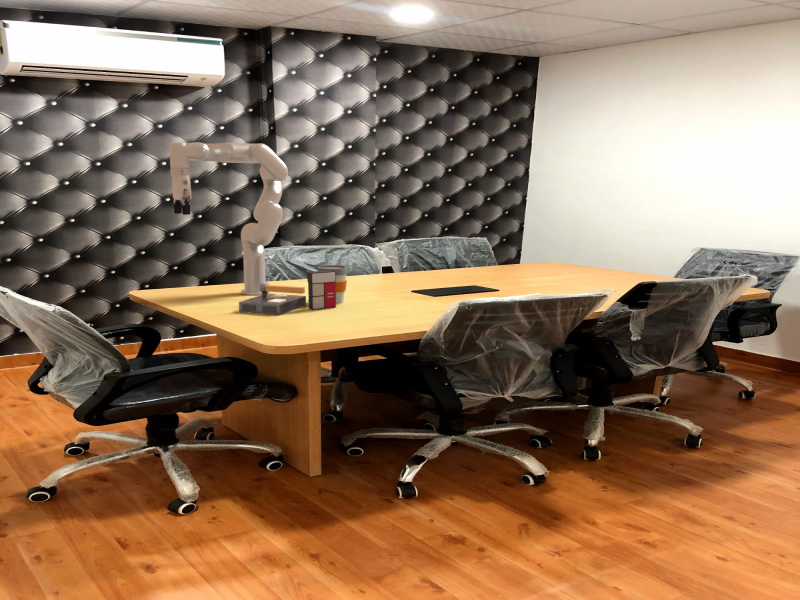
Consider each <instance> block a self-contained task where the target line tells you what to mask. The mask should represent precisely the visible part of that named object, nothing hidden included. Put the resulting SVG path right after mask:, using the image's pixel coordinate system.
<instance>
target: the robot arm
mask: <svg viewBox="0 0 800 600" xmlns="http://www.w3.org/2000/svg"><path fill="white" fill-rule="evenodd" d="M169 158H170V159H169V161H170V162H169V164H170V166H169V167H170V177H172V184H171V185H172V188H171V189H172V191H171V192H172V200H173V213H174V214H182V215H184V216H188V215H191V200H192V198H193V197H192V187H191V180H190V179H191V178H190V176H191V175H190V172H191V171H190V161H191V162H192V161H193V162H194V161H195V162H197V161H198V162H218V163H227V164H228V163H231V164H232V163H233V164H235V163H236V164H237V163H238V164H260V168H259V174H260V178H261V180H262V183H263V189H262V192H261V195H260V197H259V200H258V201H257V203H256V205H255V208H254V209H253V213H252V214H253V218H254V219H255V220H256V221H257V222H250V223H247V224H245V225H244V226H243V227H242V229H241V231H240V239H241V245H242V252H243V253H242V254H243V258H242V259H243V285H244V289H241V290H240V294H242V295H247V296H261V295H262V291H260V284H263V283H267V284H269V285H271V284H270V282H269V281H266V252H265V246H267V245H269V244H270V243H271V242H272V241H273V240H274V238H275V236H276V233H277V231H278V229H279V227H280V225H281V223H282V220H283V217H284V215H283V214H284V212H283V208H282V206H281V205H280V204H279V203H280V201H281V200H282V199H281V198H282V195H283V185H282V181H285V180H286V179H287V178H288V175H289V168H288V166H287V165H286V164H285V162H284V161H283V160H282V159H281V158H280V157H279V156H278V155H277V154H276V153H275V152H274V151H273V150H272V149H271V148H270V147H269V146H268V145H266V144H265V143H260V142H259V143H242V142H241V143H240V142H216V143H204V142H200V141H199V142H198V141H197V142H196V141H195V142H179V141H178V142H176V141H175V142H171V143H170V144H169ZM267 292H268V291H267ZM268 293H269V294H270V292H268Z"/></svg>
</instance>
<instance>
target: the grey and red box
mask: <svg viewBox="0 0 800 600" xmlns="http://www.w3.org/2000/svg"><path fill="white" fill-rule="evenodd" d="M306 274H307V276H306V279H307V284H308V285H307V287H308V289H307V293H308V309H309V310H312V311H315V310H324V309H334V308H337V304H336V272H335V271H332V270H326V271H318V270H315V271H314V270H313V271H307V273H306Z"/></svg>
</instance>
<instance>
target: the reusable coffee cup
mask: <svg viewBox="0 0 800 600" xmlns="http://www.w3.org/2000/svg"><path fill="white" fill-rule="evenodd" d="M326 270H332V271H335V272H336V305H339V304H340V305H341V304H343V303H344V300H345V292H346V290H347V283H348V281H347V275H348V267H347V266H345V265H340V264H339V265H334V264H333V265H332V264H331V265H321V266H318V267H317V271H326Z"/></svg>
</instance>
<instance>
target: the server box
mask: <svg viewBox="0 0 800 600" xmlns="http://www.w3.org/2000/svg"><path fill="white" fill-rule="evenodd" d="M276 294H277V293H270V292H269V293H268V292H267V291H262V294H261V295H256V296H255V297H252V298H248V299H244V300H241V301H238V312H239V311H240V312H239V313H246V312H251V313H250V314H259V313H263V314H262V315H272V314H274V315H276V316H280V315H285V314H287V313H289V312H292V311H296V310H297V309H301V308H304V307H307V296H306V295H297V294H286V295H287V296H285V297H282V298H274V297H269V296H272V295H276ZM280 294H281V293H280ZM281 295H285V293H284V294H281ZM273 299H285V300H286V301H283V302H280V303H275V302H268V301H270V300H273Z"/></svg>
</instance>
